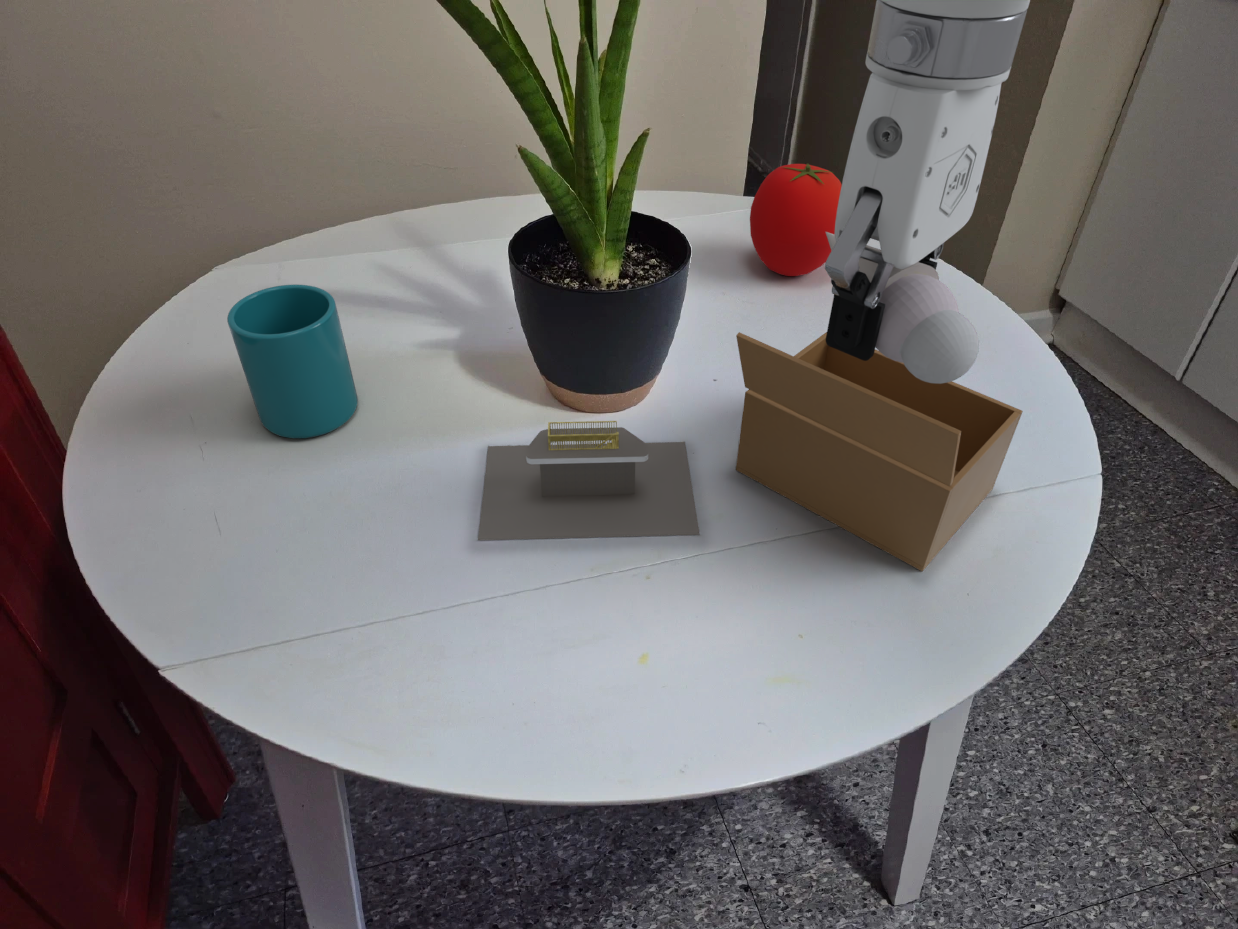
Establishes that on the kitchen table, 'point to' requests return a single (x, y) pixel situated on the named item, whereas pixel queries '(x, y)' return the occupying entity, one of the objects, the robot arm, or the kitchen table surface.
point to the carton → (878, 457)
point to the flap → (851, 409)
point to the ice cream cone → (922, 323)
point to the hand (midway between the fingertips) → (875, 327)
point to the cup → (294, 359)
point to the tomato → (795, 218)
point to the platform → (587, 487)
